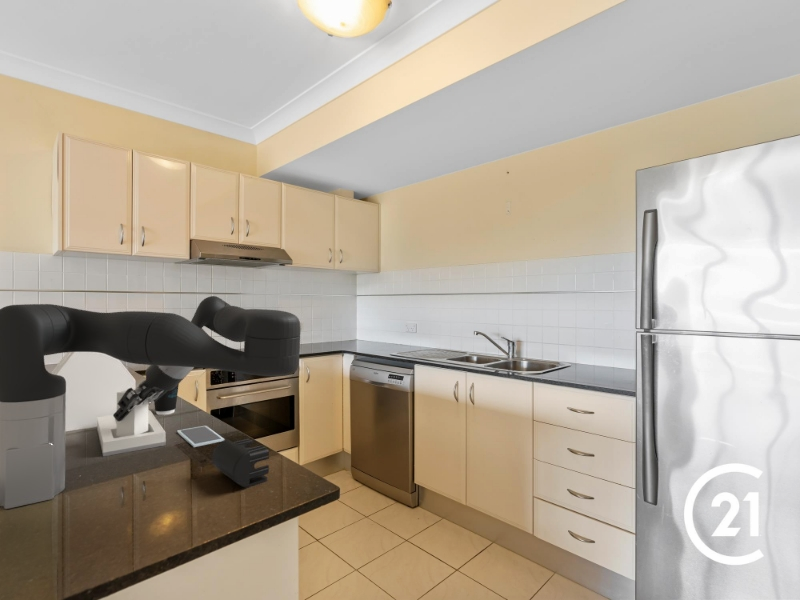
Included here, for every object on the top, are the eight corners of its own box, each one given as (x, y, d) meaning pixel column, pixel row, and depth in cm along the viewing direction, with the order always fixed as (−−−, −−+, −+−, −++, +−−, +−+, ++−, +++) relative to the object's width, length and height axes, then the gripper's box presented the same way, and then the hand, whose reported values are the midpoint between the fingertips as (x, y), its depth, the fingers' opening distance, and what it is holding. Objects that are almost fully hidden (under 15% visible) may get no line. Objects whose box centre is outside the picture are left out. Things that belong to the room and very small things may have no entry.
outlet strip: (165, 445, 99) (165, 431, 99) (103, 456, 91) (103, 442, 91) (149, 420, 118) (149, 409, 118) (96, 428, 110) (97, 416, 110)
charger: (148, 430, 102) (148, 389, 102) (134, 436, 97) (135, 393, 97) (131, 429, 102) (131, 388, 102) (116, 435, 98) (116, 392, 98)
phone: (224, 443, 102) (224, 438, 102) (193, 449, 98) (193, 444, 98) (205, 429, 113) (205, 425, 113) (177, 434, 108) (177, 430, 108)
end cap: (211, 476, 82) (211, 442, 82) (246, 466, 87) (246, 434, 87) (232, 494, 75) (233, 456, 75) (269, 482, 80) (270, 446, 80)
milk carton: (45, 434, 105) (46, 335, 105) (45, 420, 117) (46, 330, 117) (135, 421, 118) (136, 331, 118) (127, 409, 129) (128, 328, 129)
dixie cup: (179, 414, 124) (179, 377, 124) (148, 417, 121) (148, 379, 121) (181, 408, 131) (181, 372, 131) (152, 410, 128) (152, 374, 128)
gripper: (162, 383, 91) (111, 436, 93) (201, 372, 105) (156, 418, 107) (140, 358, 92) (89, 411, 93) (181, 350, 106) (137, 396, 107)
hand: (125, 415), depth 100 cm, fingers closed on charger, 4 cm apart
